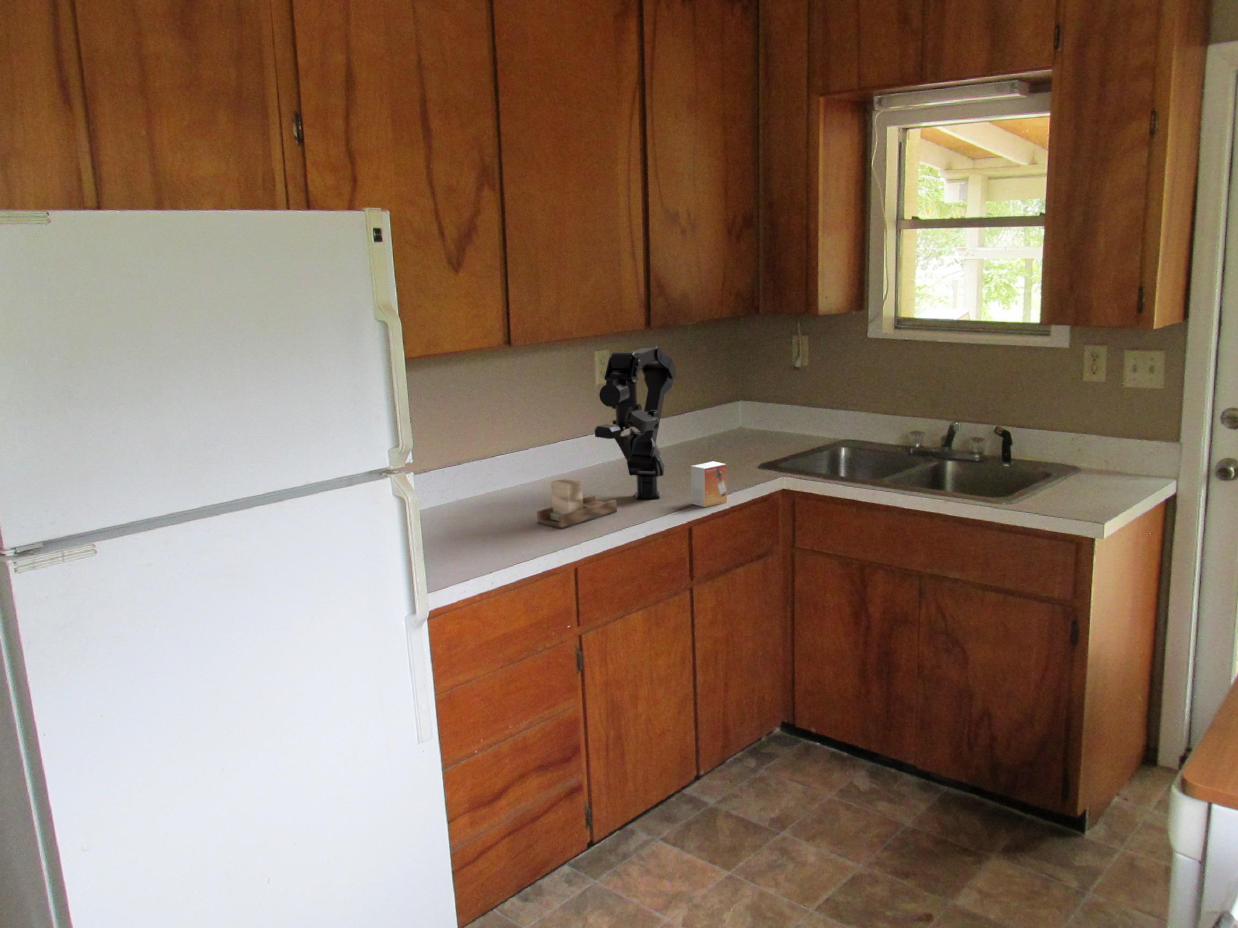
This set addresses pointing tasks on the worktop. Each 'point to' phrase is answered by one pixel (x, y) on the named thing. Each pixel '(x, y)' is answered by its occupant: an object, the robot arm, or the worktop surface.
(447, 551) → the worktop surface
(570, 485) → the block
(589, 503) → the track
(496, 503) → the worktop surface
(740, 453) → the worktop surface
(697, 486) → the small box
